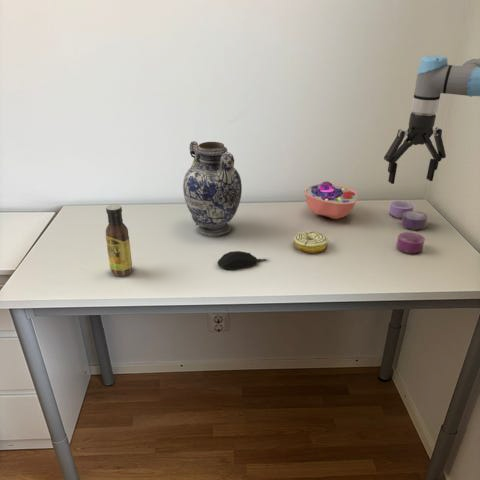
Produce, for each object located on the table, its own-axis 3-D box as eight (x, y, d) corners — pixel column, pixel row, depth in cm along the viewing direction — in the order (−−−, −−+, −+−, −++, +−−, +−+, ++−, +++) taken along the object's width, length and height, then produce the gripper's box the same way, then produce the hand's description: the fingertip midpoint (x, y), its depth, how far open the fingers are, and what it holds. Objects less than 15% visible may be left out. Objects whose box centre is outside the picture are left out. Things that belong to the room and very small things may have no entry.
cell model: (327, 230, 171) (330, 198, 165) (293, 210, 186) (295, 179, 179) (366, 220, 178) (371, 189, 172) (331, 202, 192) (334, 172, 186)
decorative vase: (172, 227, 173) (166, 142, 157) (215, 213, 183) (213, 132, 167) (212, 249, 160) (208, 158, 144) (255, 232, 170) (257, 146, 154)
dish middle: (418, 221, 178) (420, 210, 176) (429, 230, 172) (432, 219, 169) (396, 222, 177) (398, 211, 175) (407, 232, 170) (409, 221, 168)
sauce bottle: (106, 272, 147) (95, 206, 136) (123, 264, 151) (114, 200, 140) (120, 279, 144) (110, 212, 133) (137, 271, 148) (129, 205, 136)
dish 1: (405, 210, 186) (407, 199, 184) (415, 218, 180) (418, 207, 177) (385, 211, 185) (386, 200, 183) (394, 220, 178) (396, 209, 176)
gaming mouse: (269, 265, 151) (269, 252, 149) (220, 271, 148) (220, 259, 145) (262, 255, 156) (263, 243, 154) (215, 262, 153) (215, 249, 150)
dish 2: (415, 242, 164) (417, 231, 161) (427, 254, 157) (429, 242, 155) (391, 244, 162) (393, 233, 160) (402, 256, 156) (405, 244, 154)
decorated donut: (317, 237, 167) (318, 227, 165) (333, 251, 158) (334, 240, 156) (288, 242, 164) (288, 231, 162) (302, 256, 155) (303, 245, 153)
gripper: (454, 108, 161) (439, 174, 173) (380, 111, 157) (370, 179, 169) (467, 113, 155) (451, 182, 167) (390, 117, 151) (379, 187, 163)
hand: (410, 181), depth 168 cm, fingers open, 13 cm apart
